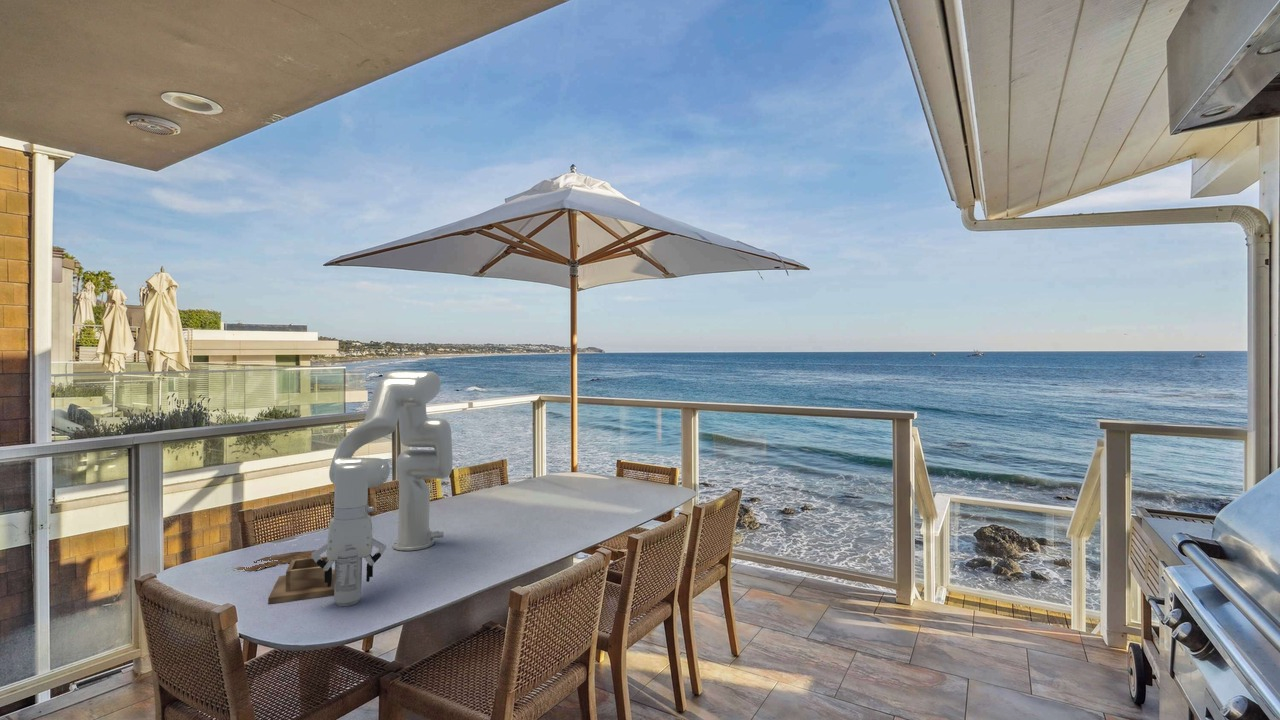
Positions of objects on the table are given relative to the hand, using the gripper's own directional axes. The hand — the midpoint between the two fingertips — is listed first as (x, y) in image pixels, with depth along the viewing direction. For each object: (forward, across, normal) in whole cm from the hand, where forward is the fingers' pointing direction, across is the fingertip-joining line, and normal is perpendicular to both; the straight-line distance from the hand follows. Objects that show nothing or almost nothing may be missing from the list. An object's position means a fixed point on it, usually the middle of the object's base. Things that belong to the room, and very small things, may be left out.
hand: (349, 582), depth 140 cm
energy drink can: (+5, 0, 0) cm, 5 cm away
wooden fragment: (+5, +19, -42) cm, 47 cm away
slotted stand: (+5, +10, -14) cm, 18 cm away
